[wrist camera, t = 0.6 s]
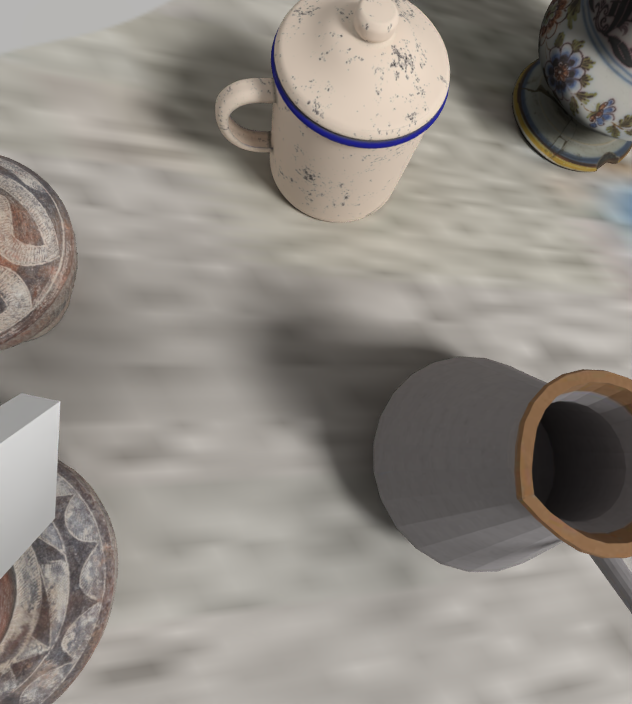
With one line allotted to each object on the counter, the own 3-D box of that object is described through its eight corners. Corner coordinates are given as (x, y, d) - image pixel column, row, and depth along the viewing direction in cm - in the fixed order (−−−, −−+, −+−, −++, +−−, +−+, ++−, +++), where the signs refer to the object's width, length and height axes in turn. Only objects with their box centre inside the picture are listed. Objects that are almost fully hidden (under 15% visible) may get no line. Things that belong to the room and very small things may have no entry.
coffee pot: (332, 403, 29) (415, 347, 14) (495, 341, 31) (710, 238, 16) (479, 780, 25) (785, 1209, 11) (649, 679, 28) (1089, 923, 13)
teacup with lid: (388, 105, 34) (457, -71, 22) (409, 224, 32) (496, 97, 21) (215, 109, 32) (195, -82, 21) (227, 235, 30) (213, 101, 19)
